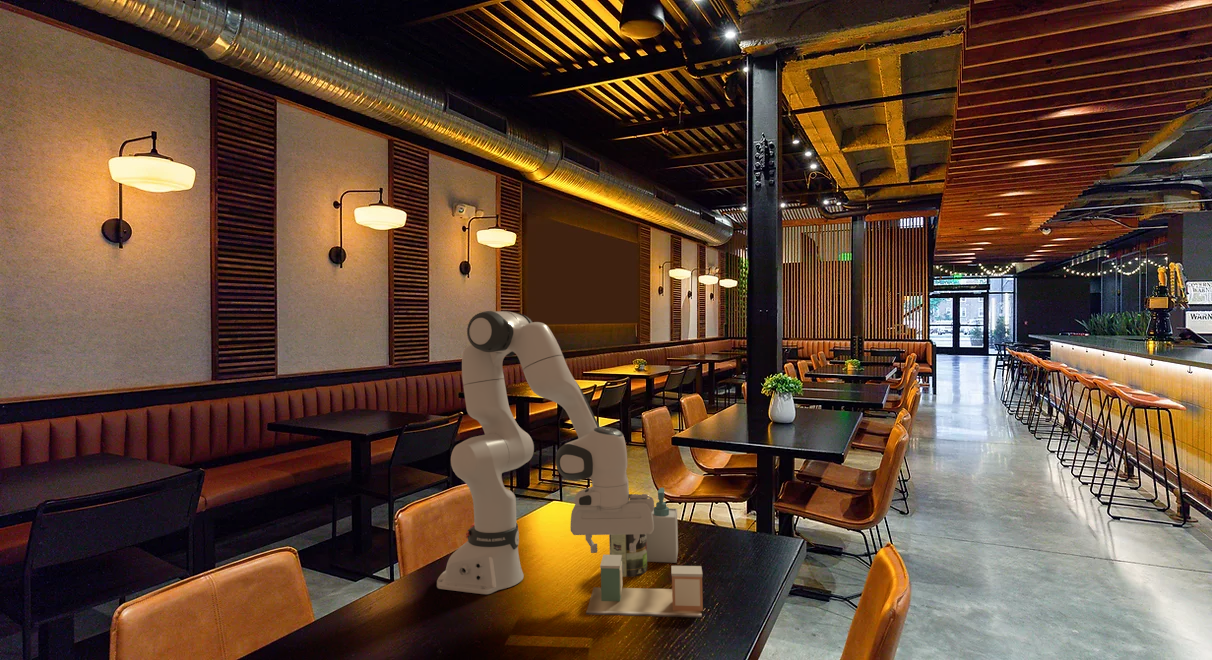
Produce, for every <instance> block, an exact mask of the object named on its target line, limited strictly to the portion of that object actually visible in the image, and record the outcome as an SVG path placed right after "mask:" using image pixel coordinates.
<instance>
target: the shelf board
mask: <svg viewBox="0 0 1212 660" xmlns="http://www.w3.org/2000/svg"><path fill="white" fill-rule="evenodd" d="M585 615H599V616H604V615H605V616H631V617H632V616H634V617H636V616H637V617H638V616H639V617H666V618H667V617H668V618H669V617H670V618H671V617H672V618H673V617H675V618H678V617H679V618H703V615H702V611H679V610H673V599H672V588H643V587H642V588H641V587H639V588H638V587H636V588H635V587H622V592H621V598H620V601H601V586H600V587H598V586H597V587H593V588H592V593H591V596H590V599H589V603H588V605H587V610H586V611H585Z"/></svg>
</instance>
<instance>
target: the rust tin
mask: <svg viewBox="0 0 1212 660" xmlns="http://www.w3.org/2000/svg"><path fill="white" fill-rule="evenodd" d="M670 567H671V571H670V572H671V573H670V574H671V589H672V599H673V610H679V611H701V612H703V611H704V605H703V603H704V601H703V569H702V565H671V566H670Z"/></svg>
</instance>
